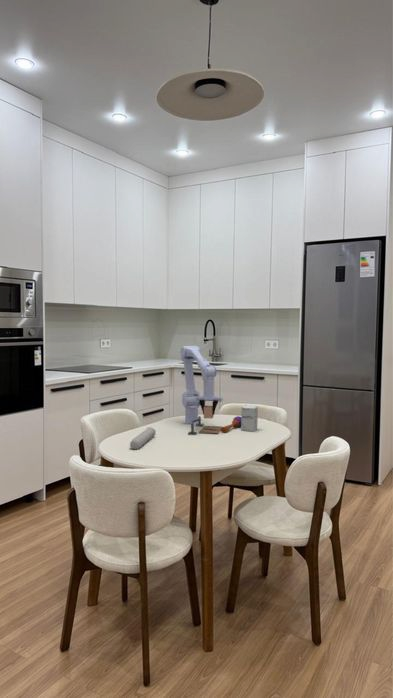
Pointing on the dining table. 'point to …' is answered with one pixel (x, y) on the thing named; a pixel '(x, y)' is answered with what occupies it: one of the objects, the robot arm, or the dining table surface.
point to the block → (208, 412)
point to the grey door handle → (195, 425)
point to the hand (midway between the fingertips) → (208, 414)
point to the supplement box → (249, 418)
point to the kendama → (235, 423)
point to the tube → (142, 438)
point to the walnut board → (210, 430)
